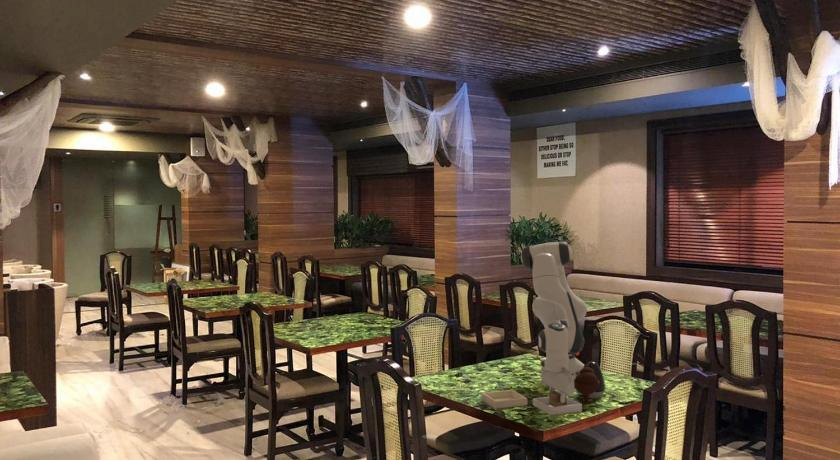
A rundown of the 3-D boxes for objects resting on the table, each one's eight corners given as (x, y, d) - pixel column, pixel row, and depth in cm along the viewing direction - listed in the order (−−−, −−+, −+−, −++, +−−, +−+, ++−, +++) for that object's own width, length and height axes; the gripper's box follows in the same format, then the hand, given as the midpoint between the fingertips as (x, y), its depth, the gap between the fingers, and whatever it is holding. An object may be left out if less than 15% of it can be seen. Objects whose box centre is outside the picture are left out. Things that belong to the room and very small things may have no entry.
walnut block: (560, 402, 273) (560, 390, 273) (566, 406, 269) (566, 393, 269) (549, 404, 272) (548, 391, 272) (555, 407, 267) (555, 395, 267)
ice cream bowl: (568, 401, 282) (568, 365, 282) (595, 400, 283) (594, 364, 283) (576, 408, 272) (576, 371, 271) (604, 407, 273) (603, 370, 272)
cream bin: (512, 397, 288) (512, 389, 288) (527, 406, 275) (527, 398, 275) (481, 401, 284) (481, 392, 284) (495, 410, 271) (495, 401, 270)
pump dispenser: (574, 397, 289) (574, 361, 288) (590, 392, 295) (590, 357, 294) (594, 402, 281) (594, 365, 280) (610, 397, 287) (609, 361, 286)
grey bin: (563, 403, 279) (563, 395, 279) (582, 413, 266) (582, 404, 266) (533, 407, 275) (532, 398, 274) (550, 416, 261) (550, 407, 261)
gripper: (578, 370, 261) (578, 406, 261) (551, 359, 280) (552, 392, 281) (564, 372, 259) (564, 408, 259) (538, 360, 278) (538, 394, 279)
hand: (557, 399), depth 270 cm, fingers closed on walnut block, 5 cm apart
